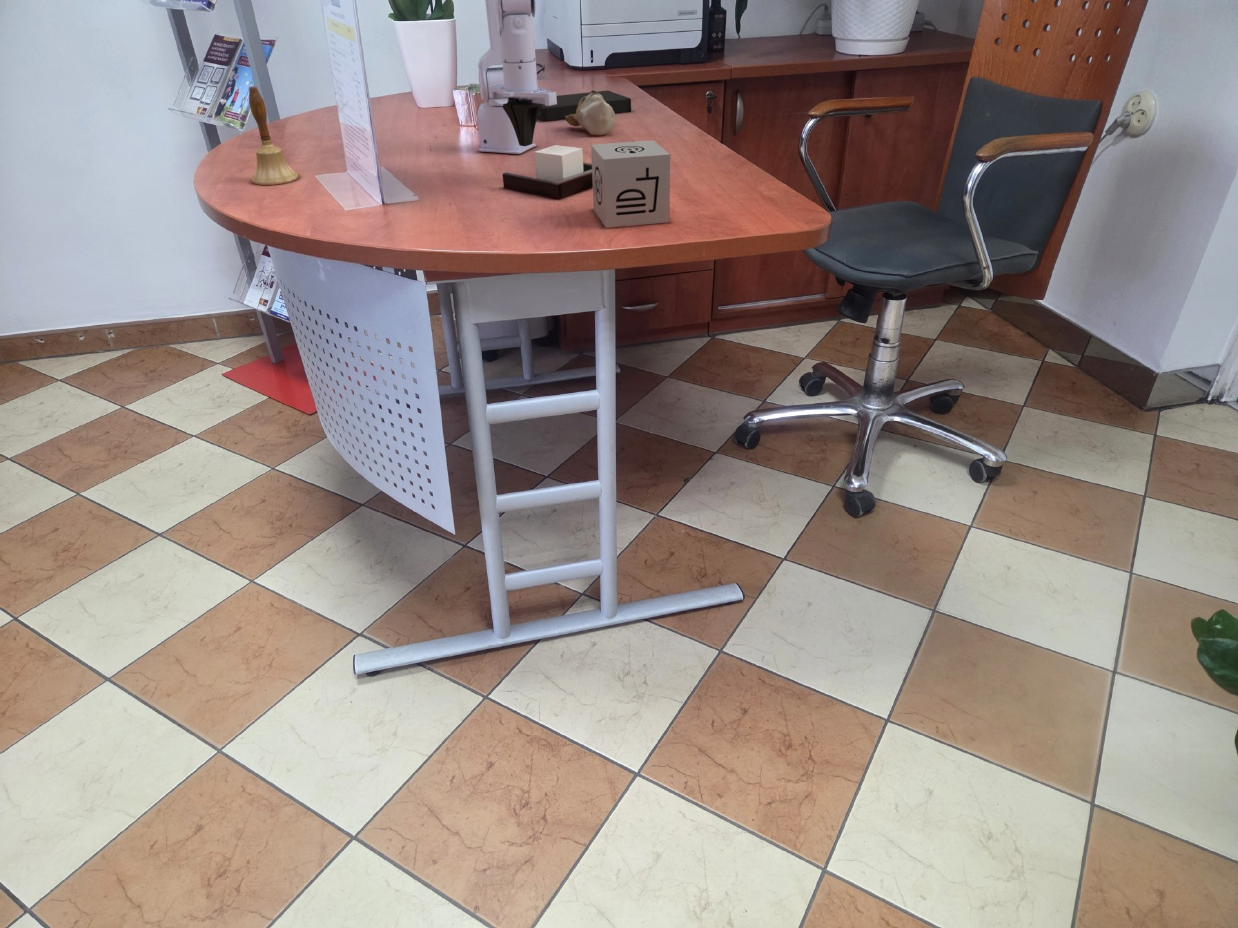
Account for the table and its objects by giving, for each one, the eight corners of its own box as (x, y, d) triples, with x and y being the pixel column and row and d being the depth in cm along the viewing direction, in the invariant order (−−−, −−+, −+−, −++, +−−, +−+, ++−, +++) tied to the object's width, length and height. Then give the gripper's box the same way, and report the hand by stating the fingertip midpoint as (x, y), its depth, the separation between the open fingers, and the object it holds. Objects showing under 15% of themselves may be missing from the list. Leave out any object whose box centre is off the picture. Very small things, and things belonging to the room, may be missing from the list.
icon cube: (669, 222, 124) (670, 154, 118) (605, 228, 122) (603, 159, 116) (653, 204, 132) (653, 140, 126) (593, 209, 130) (591, 144, 125)
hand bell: (307, 175, 153) (286, 83, 144) (279, 186, 146) (255, 91, 137) (272, 172, 155) (249, 82, 146) (242, 183, 149) (216, 90, 140)
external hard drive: (631, 111, 198) (630, 98, 196) (543, 122, 190) (542, 108, 188) (607, 103, 209) (607, 90, 207) (523, 112, 201) (522, 99, 199)
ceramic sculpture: (578, 95, 168) (560, 89, 180) (580, 139, 172) (563, 130, 185) (626, 92, 171) (605, 86, 183) (627, 135, 175) (607, 127, 187)
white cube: (537, 187, 142) (534, 152, 139) (557, 179, 146) (554, 145, 143) (564, 191, 139) (562, 155, 136) (584, 183, 143) (582, 148, 140)
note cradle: (503, 188, 142) (501, 172, 140) (556, 171, 151) (555, 156, 150) (558, 200, 135) (557, 183, 134) (610, 181, 144) (610, 165, 143)
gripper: (472, 61, 137) (481, 144, 145) (534, 67, 130) (540, 154, 137) (501, 55, 142) (509, 137, 149) (562, 61, 134) (567, 146, 142)
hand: (525, 145), depth 144 cm, fingers closed
